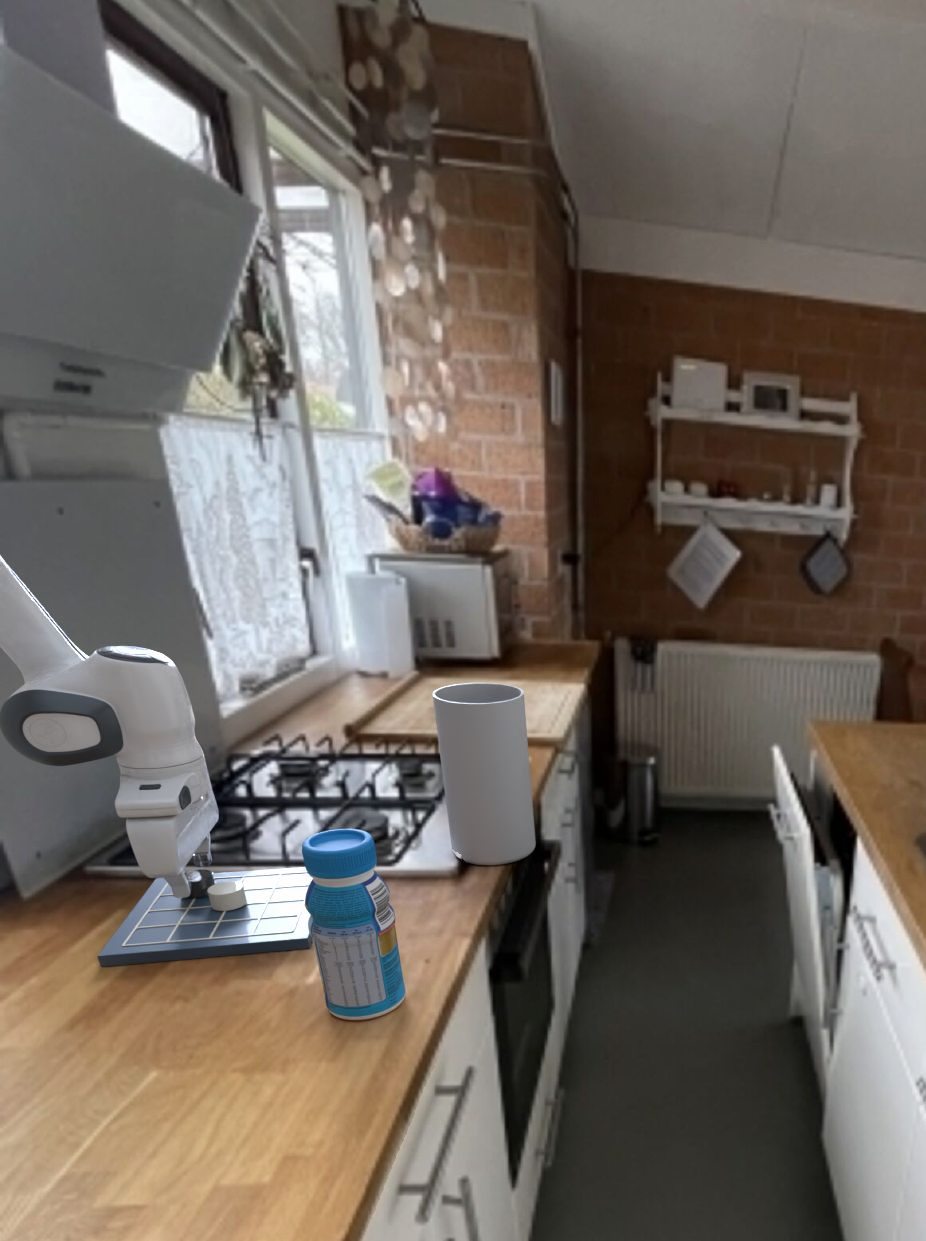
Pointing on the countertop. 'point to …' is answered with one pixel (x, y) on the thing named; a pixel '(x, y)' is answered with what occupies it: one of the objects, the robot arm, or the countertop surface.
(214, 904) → the ivory stone
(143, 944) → the board
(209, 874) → the black stone
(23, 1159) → the countertop surface
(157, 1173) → the countertop surface
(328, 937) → the beverage bottle
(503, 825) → the cylinder vase
